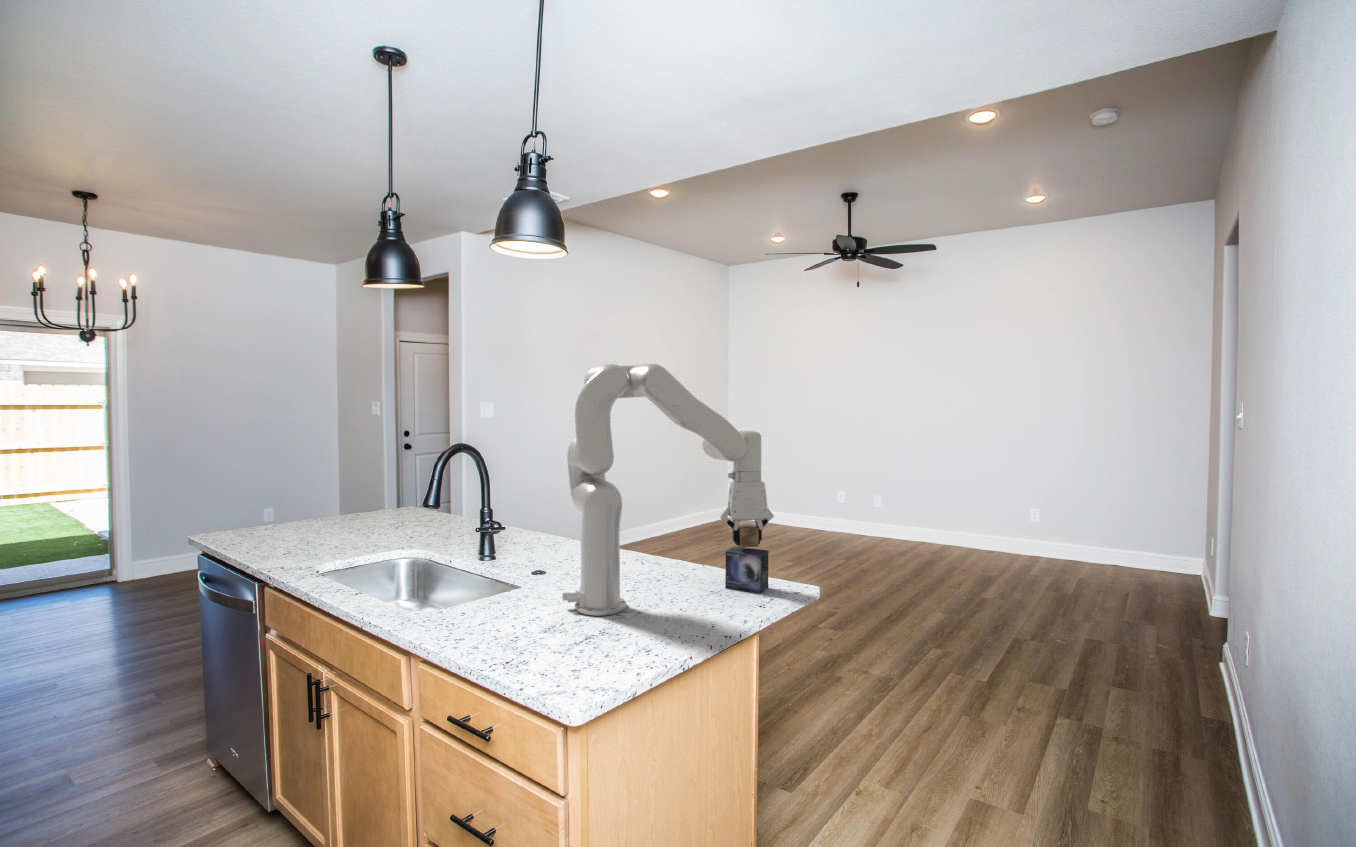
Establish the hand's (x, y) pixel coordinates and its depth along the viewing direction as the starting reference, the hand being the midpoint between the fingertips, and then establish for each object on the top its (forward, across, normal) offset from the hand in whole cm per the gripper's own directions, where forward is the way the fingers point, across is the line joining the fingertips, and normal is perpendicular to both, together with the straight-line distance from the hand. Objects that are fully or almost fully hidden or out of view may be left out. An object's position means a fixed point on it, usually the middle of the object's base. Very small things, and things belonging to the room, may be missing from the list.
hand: (747, 543), depth 177 cm
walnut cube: (+1, 0, 0) cm, 1 cm away
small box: (+13, 0, 0) cm, 13 cm away
